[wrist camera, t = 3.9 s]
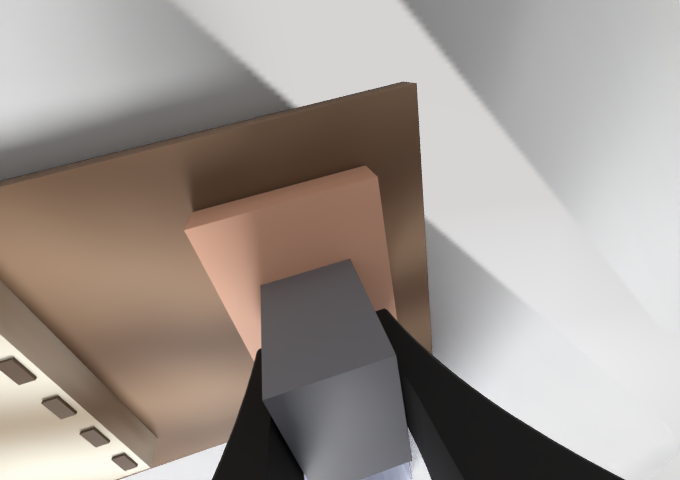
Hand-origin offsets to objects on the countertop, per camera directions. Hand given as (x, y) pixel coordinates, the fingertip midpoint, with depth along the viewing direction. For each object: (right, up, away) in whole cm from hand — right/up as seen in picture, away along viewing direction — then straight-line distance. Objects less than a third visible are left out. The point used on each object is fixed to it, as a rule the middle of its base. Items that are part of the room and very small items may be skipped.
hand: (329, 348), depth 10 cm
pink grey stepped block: (-1, +1, +2) cm, 2 cm away
